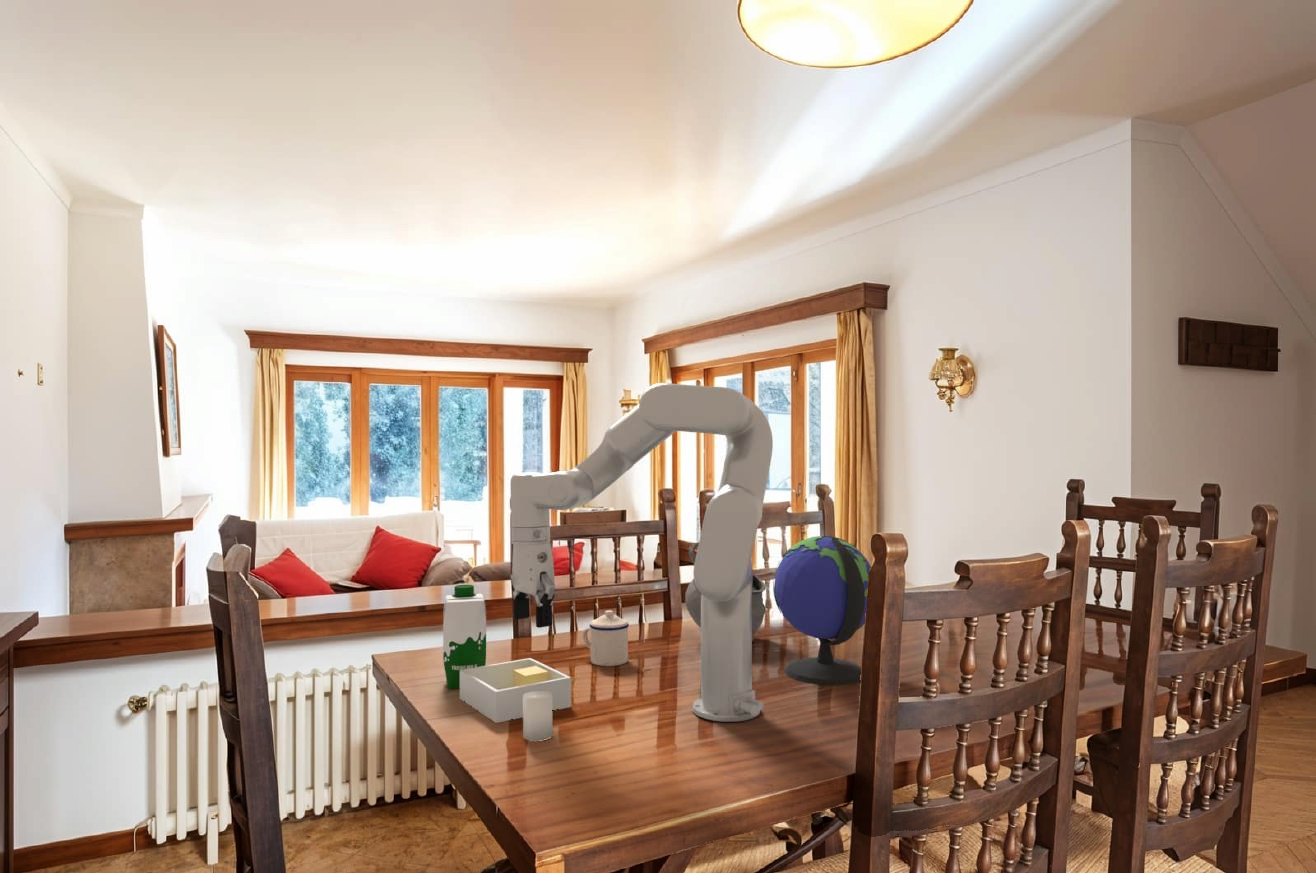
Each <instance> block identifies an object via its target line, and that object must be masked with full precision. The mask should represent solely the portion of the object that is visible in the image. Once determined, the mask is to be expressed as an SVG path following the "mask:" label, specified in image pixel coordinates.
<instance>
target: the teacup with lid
mask: <svg viewBox="0 0 1316 873" xmlns="http://www.w3.org/2000/svg"><path fill="white" fill-rule="evenodd" d="M629 624H630V623H629V622H628V620H626V619H624V618H621V617H620V616H619V615H616V614H614V611H613V610H611V609H610V610H605V611H604V614H603V615H601V616H599V617H598V618H595V619H593V620H591V621H590V623H589V625H588V627H586V628H584V630H583V631H582V640H583V643H584V644H585V646H586V647H587V648H588V649H590V662H591V664H593V665H595V666H600V667H615V666H616V667H617V666H621V665H622V666H623V665H624V664H626V663H627V662H628V660H629V630H628V629H629V628H628V627H629V626H630V625H629ZM589 631H590V634H589V635H590V637H589V638H590V641H589V638H588V632H589Z"/></svg>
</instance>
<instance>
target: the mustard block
mask: <svg viewBox="0 0 1316 873" xmlns="http://www.w3.org/2000/svg"><path fill="white" fill-rule="evenodd" d="M544 681H548V671H546V670H544V669H542V668H540V667H537V666H533V667H528V668H522V669H517V670H513V687H517V686H523V685H528V684H533V683H538V682H544Z"/></svg>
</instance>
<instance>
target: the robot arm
mask: <svg viewBox="0 0 1316 873" xmlns="http://www.w3.org/2000/svg"><path fill="white" fill-rule="evenodd" d="M676 432H686V433H698V434H699V433H700V434H710V435H711V434H712V435H719V436H720V435H721V436H725V437H726V439H727V441H726V442H727V450H726V455H725V458H724V463H723V469H722V474H721V479H720V484H719V488H718V491H717V492H716V493H715V494H714V495H713V496H712V498H711V499H710V500H709V502H708V504H707V507H706V509H705V513H704V518H703V522H702V528H701V532H700V536H699V540H698V542H699V545H698V547H697V550H696V555H695V557H696V559H695V564H693V571H692V572H693V579H694V581H695V584H696V587H697V588H698V590H699V591H700V593H701V628H700V698H698V699H696V700H695V701H694V702H693V703H692V711H693V714H695V715H696V716H698V717H699V718H702V719H705V720H709V721H713V722H714V721H715V722H724V723H733V722H734V723H737V722H743V721H748V720H752V719H755V718H756V717H757V716H759V715H760V713H761V710H762V709H764V703H763V702H762V701H760V700H756V690H754V689H753V683H752V682H753V675H752V674H753V668H752V667H753V665H752V664H753V662H752V661H753V659H752V658H753V657H752V656H753V655H752V654H753V652H752V650H753V648H752V646H753V644H752V642H753V641H752V582H753V573H754V571H753V563H752V555H753V550H754V545H755V541H756V536H757V532H758V527H759V526H760V523H761V521H762V518H763V508H764V501H765V500H764V499H765V494H766V490H767V485H768V480H769V473H770V468H771V461H772V458H773V457H772V456H773V447H774V446H773V444H774V443H773V433H772V429H771V426H770V423H769V420H768V418H767V417H766V415H765V414H764V412H763V411H762V410H761V408H760V407H758V405H757V404H756V403H755V402H753V400H751V399H750V398H749V397H747V396H746V395H744V394H743V393H742V392H739V391H737V390H736V389H733V388H730V387H722V386H709V385H708V386H707V385H693V384H692V385H691V384H681V383H680V384H679V383H671V382H659V383H655V384H653V385H651V386H649V387H648V388H647V389H645V391H643V393H642V394H641V396H640V399H639V403H638V404H637V405H636V406H635V407H633V408H632V410H630V411H629V412H627V413H626V414H625V415H623V417H621V418H619V420H617V421H616V422H615V423H614V424H612V425H610V427H609V428H608V429H607V430H606V431H605V432H604V436H603V439H602V441H601V443H600V444H599V445H598V447H597V448H596V449H595V450H594V451H593V452H592V453H591V454H590V455H589V456H588V457H586V458H585V459H584V460H582V462H579V464H577V465H576V466H575V467H573V468H572V469H570V470H569V469H568V470H563V471H555V472H548V473H544V472H519V473H514V474H513V475H512V476H511V478H510V484H509V485H510V524H511V525H510V526H511V529H510V530H511V545H513V547H512V566H511V568H512V570H511V572H512V573H511V574H510V583H511V590H512V592H513V593H512V599H513V618H514V620H523V619H528V618H530V614H531V612H530V611H531V609H530V597H528V596H533V597H534V599H535V602H536V604H537V606H535V626H536V628H545V627H546V628H547V627H552V625H553V604H554V599H555V598H554V597H555V595H554V593H555V590H556V583H555V582H556V581H555V569H554V568H555V567H554V556H553V550H552V546H551V526H550V525H551V522H550V521H551V520H550V513H551V511H550V510H555V511H556V510H557V511H567V510H572V509H575V508H578V507H583V506H585V505H587V504H588V503H589V502H591V501H593V500H594V499H595V498H596V497H597V496H599V495H600V494H602V493H603V492H604V491H606V490H607V489H608V488H609V487H610V486H611V485H613V484H614V483H615V482H617V480H618V479H620V478H621V477H622V476H623V475H624V474H625V473H627V472H629V471H630V469H631V468H632V467H633V466H635V464H637V463H638V462H639V461H640V460H642V459H643V458H644V457H646V456H647V455H648V454H649V453H651V452H652V451H653V450H654V449H655V448H656V447H658V446H659V445H660V444H662V443H663V442H664V441H666V440H667V439H668V438H669V437H671V436H672V435H674V433H676ZM541 596H542V597H541Z"/></svg>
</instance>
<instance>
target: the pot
mask: <svg viewBox="0 0 1316 873" xmlns="http://www.w3.org/2000/svg"><path fill="white" fill-rule="evenodd" d="M698 545H699V541H697V542H695V543H693V544H692V545H689V547H688V548H689V549H688V556H689V557H690V560H691V562H692V564H693V565H694V564H695V559H696V555H695V549H696V548H698ZM766 588H767V586H766V584H765V582H764V581H763V580H762V579H761V578H760V577H759V576H758V575H756V573H754V572H753V582H752V642H753V641H754V638H755V634H756V632H757V631H758V630H759V629H760V627H761V625H763V624H762V623H763V622H764V617H765V615H766V613H767V608H766V605H765V603H764V597H763V592H765V590H766ZM684 596H685V606H686V609H687V611H688V614H689V615H690V617H691V618H692V620H693V622H694V623H695V624H696V625H697V626H698V627H699V628H700V629H701V593H700V591H699V590H698V588H697V587H696V584H695V581H694V578H693V579H692V580H691V581H690V582H689V583H688V586H687V588H686V591H685V595H684Z"/></svg>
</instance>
